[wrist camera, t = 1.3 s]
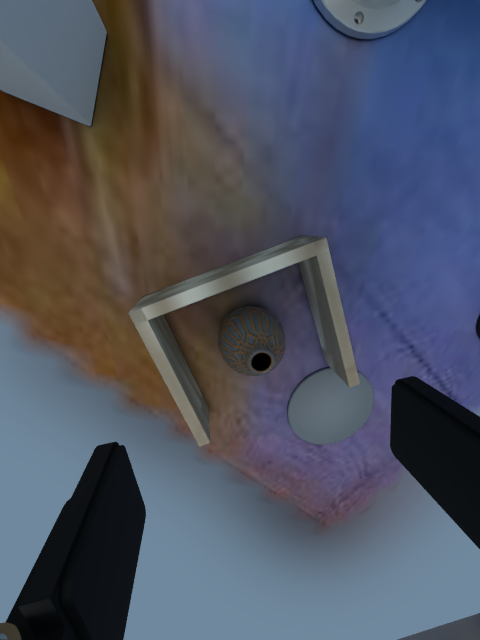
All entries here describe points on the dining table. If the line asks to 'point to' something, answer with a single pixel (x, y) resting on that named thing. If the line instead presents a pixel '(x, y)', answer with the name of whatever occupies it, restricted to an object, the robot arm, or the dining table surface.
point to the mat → (329, 407)
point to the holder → (299, 250)
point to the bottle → (478, 327)
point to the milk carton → (52, 54)
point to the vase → (251, 340)
